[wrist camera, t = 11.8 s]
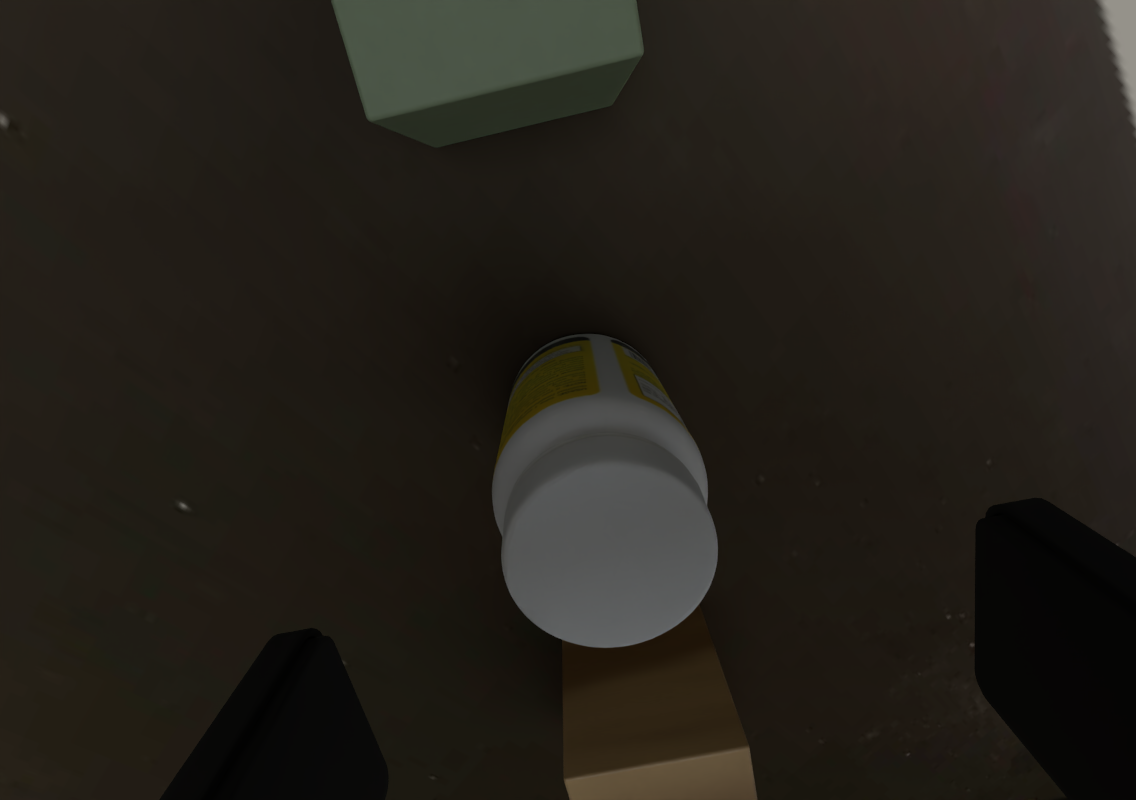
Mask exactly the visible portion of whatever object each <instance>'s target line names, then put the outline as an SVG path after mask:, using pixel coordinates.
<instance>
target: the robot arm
mask: <svg viewBox="0 0 1136 800" xmlns="http://www.w3.org/2000/svg"><path fill="white" fill-rule="evenodd" d="M975 675H976V679H977V682H978V685H979V687H980V689H981V691H982V693H983V695H984V696H985V698H986V699H987V701H988V702H989V703H990V704H991V706H992V707H993V708H994V709H995V711H996V712H997V713H998V714H999V715H1000V717H1001V718H1002V719H1003V720H1004V721H1005V723H1006V724H1007V725H1008V726H1009V728H1010V729H1011V730H1012V731H1013V732H1014V734H1015V735H1016V736H1017V737H1018V738H1019V740H1020V741H1021V742H1022V743H1023V745H1024V746H1025V747H1026V748H1027V749H1028V751H1029V752H1030V753H1031V754H1032V755H1033V757H1034V758H1035V759H1036V760H1037V762H1038V763H1039V764H1040V765H1041V766H1042V768H1043V769H1044V770H1045V771H1046V772H1047V774H1048V775H1049V776H1050V777H1051V779H1052V780H1053V781H1054V782H1055V783H1056V785H1057V786H1058V787H1059V788H1060V789H1061V791H1062V792H1063V793H1064V794H1065V796H1066V797H1067V798H1068V799H1069V800H1136V557H1134V556H1133V555H1131V554H1130V553H1128V552H1126V551H1125V550H1123V549H1122V548H1120V547H1119V546H1117V545H1116V544H1114V543H1112V542H1111V541H1109V540H1108V539H1106V538H1105V537H1103V536H1101V535H1100V534H1098V533H1097V532H1095V531H1094V530H1092V529H1091V528H1089V527H1087V526H1086V525H1084V524H1083V523H1081V522H1080V521H1078V520H1076V519H1075V518H1073V517H1072V516H1070V515H1069V514H1067V513H1065V512H1064V511H1062V510H1061V509H1059V508H1058V507H1056V506H1055V505H1053V504H1051V503H1050V502H1048V501H1046V500H1044V499H1042V498H1031V499H1026V500H1020V501H1015V502H1009V503H1004V504H998V505H993V506H992V507H990V508H989V509H988V511H987V512H986V518H982V519H980V520H979V521H978V522H977V524H976V556H975ZM387 789H388V769H387V765H386V762H385V760H384V758H383V755H382V753H381V751H380V748H379V746H378V744H377V741H376V739H375V737H374V734H373V732H372V730H371V727H370V725H369V723H368V720H367V718H366V716H365V713H364V711H363V709H362V706H361V704H360V702H359V699H358V697H357V695H356V692H355V690H354V688H353V685H352V683H351V681H350V678H349V676H348V674H347V671H346V669H345V667H344V664H343V662H342V660H341V657H340V655H339V653H338V650H337V648H336V646H335V643H334V642H333V640H332V639H331V638H330V637H329V636H323V635H322V634H321V632H320V631H318V630H317V629H314V628H310V629H304V630H299V631H293V632H288V633H282V634H277V635H275V636H273V637H272V638H271V639H270V640H269V641H268V642H267V644H266V645H265V647H264V648H263V650H262V651H261V653H260V654H259V656H258V657H257V658H256V660H255V661H254V663H253V664H252V666H251V667H250V669H249V670H248V672H247V673H246V674H245V676H244V677H243V679H242V680H241V682H240V683H239V685H238V686H237V688H236V689H235V690H234V692H233V693H232V695H231V696H230V698H229V699H228V701H227V702H226V704H225V705H224V706H223V708H222V709H221V711H220V712H219V714H218V715H217V717H216V718H215V720H214V721H213V722H212V724H211V725H210V727H209V728H208V730H207V731H206V733H205V734H204V736H203V737H202V738H201V740H200V741H199V743H198V744H197V746H196V747H195V749H194V750H193V752H192V753H191V754H190V756H189V757H188V759H187V760H186V762H185V763H184V765H183V766H182V768H181V769H180V770H179V772H178V773H177V775H176V776H175V778H174V779H173V781H172V782H171V784H170V785H169V786H168V788H167V789H166V791H165V792H164V794H163V795H162V797H161V798H160V800H385V797H386V794H387Z"/></svg>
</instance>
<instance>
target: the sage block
mask: <svg viewBox="0 0 1136 800" xmlns="http://www.w3.org/2000/svg"><path fill="white" fill-rule="evenodd" d="M331 2H332V5H333V9H334V12H335V15H336V19H337V22H338V25H339V29H340V32H341V35H342V39H343V42H344V45H345V48H346V52H347V55H348V58H349V62H350V65H351V68H352V72H353V75H354V78H355V82H356V85H357V88H358V91H359V95H360V98H361V101H362V105H363V108H364V111H365V115H366V118H367V119H368V120H369V121H370V122H372V123H375V124H377V125H380V126H382V127H385V128H387V129H390V130H392V131H395V132H397V133H400V134H402V135H405V136H407V137H410V138H412V139H415V140H417V141H420V142H422V143H425V144H427V145H430V146H432V147H435V148H438V147H442V146H446V145H450V144H454V143H458V142H463V141H467V140H471V139H475V138H479V137H483V136H488V135H492V134H496V133H500V132H504V131H508V130H513V129H517V128H521V127H525V126H529V125H533V124H538V123H542V122H546V121H550V120H554V119H558V118H563V117H567V116H571V115H575V114H579V113H584V112H588V111H592V110H596V109H600V108H604V107H609V106H611V105H613V103H614V102H615V100H616V98H617V97H618V95H619V93H620V92H621V90H622V88H623V87H624V85H625V83H626V82H627V80H628V79H629V77H630V75H631V74H632V72H633V70H634V69H635V67H636V65H637V64H638V62H639V60H640V59H641V57H642V56H643V53H644V46H643V40H642V33H641V27H640V21H639V14H638V8H637V1H636V0H331Z"/></svg>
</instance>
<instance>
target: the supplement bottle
mask: <svg viewBox="0 0 1136 800" xmlns="http://www.w3.org/2000/svg"><path fill="white" fill-rule="evenodd" d="M707 499H708V483H707V475H706V470H705V466H704V463H703V459H702V456H701V454H700V451H699V449H698V447H697V445H696V443H695V441H694V439H693V438H692V436H691V434H690V433H689V431H688V429H687V428H686V426H685V424H684V423H683V421H682V419H681V417H680V416H679V414H678V412H677V410H676V409H675V407H674V405H673V403H672V401H671V400H670V398H669V396H668V394H667V393H666V391H665V389H664V388H663V386H662V384H661V383H660V381H659V379H658V377H657V375H656V374H655V372H654V370H653V369H652V367H651V366H650V365H649V363H648V362H647V361H646V359H645V358H644V357H643V356H642V355H641V354H640V353H638V352H637V351H636V350H635V349H634V348H632V347H631V346H629V345H628V344H626V343H624V342H622V341H620V340H617V339H615V338H612V337H608V336H604V335H599V334H577V335H571V336H566V337H563V338H559V339H557V340H554V341H552V342H550V343H548V344H546V345H545V346H543V347H542V348H540V349H539V350H538V351H536V352H535V353H534V354H533V355H532V356H531V357H530V358H529V359H528V360H527V361H526V362H525V364H524V365H523V366H522V368H521V370H520V371H519V373H518V375H517V377H516V379H515V381H514V384H513V387H512V390H511V394H510V397H509V403H508V408H507V413H506V417H505V422H504V427H503V432H502V436H501V441H500V446H499V451H498V455H497V460H496V465H495V470H494V476H493V484H492V501H493V509H494V515H495V519H496V522H497V525H498V528H499V530H500V532H501V535H502V549H501V560H502V570H503V574H504V578H505V582H506V585H507V587H508V590H509V592H510V594H511V596H512V598H513V599H514V601H515V603H516V604H517V606H518V607H519V608H520V609H521V611H522V612H523V613H524V614H525V616H527V617H528V618H529V619H530V620H531V621H532V622H533V623H534V624H535V625H537V626H538V627H540V628H541V629H543V630H544V631H546V632H547V633H549V634H551V635H553V636H555V637H557V638H559V639H562V640H565V641H567V642H571V643H574V644H579V645H583V646H589V647H600V648H613V647H623V646H629V645H634V644H638V643H641V642H644V641H647V640H650V639H653V638H655V637H657V636H659V635H661V634H663V633H665V632H667V631H669V630H670V629H672V628H673V627H675V626H677V625H678V624H679V623H680V622H682V621H683V620H684V619H685V618H687V617H688V616H689V615H690V614H691V613H692V612H693V611H694V609H695V608H696V607H697V606H698V605H699V603H700V602H701V601H702V599H703V598H704V596H705V594H706V592H707V591H708V589H709V587H710V585H711V582H712V579H713V577H714V574H715V569H716V565H717V557H718V542H717V535H716V530H715V526H714V523H713V520H712V517H711V514H710V512H709V510H708V507H707Z"/></svg>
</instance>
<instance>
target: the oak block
mask: <svg viewBox="0 0 1136 800" xmlns="http://www.w3.org/2000/svg"><path fill="white" fill-rule="evenodd" d="M562 676H563V762H564V782H565V786H566V789H567V792H568V795H569V799H570V800H757V794H756V787H755V781H754V774H753V768H752V762H751V755H750V749H749V745H748V742H747V739H746V736H745V733H744V730H743V728H742V725H741V722H740V719H739V716H738V713H737V710H736V708H735V705H734V702H733V699H732V696H731V693H730V690H729V688H728V685H727V682H726V679H725V676H724V673H723V670H722V668H721V665H720V662H719V659H718V656H717V653H716V650H715V647H714V645H713V642H712V639H711V636H710V633H709V630H708V627H707V625H706V622H705V619H704V616H703V613H702V610H701V607H700V605H698V606H697V607H696V608H695V609H694V611H693V612H692V613H691V614H690V615H689V616H688V617H687V618H685V619H684V620H683V621H682V622H680V623H679V624H678V625H677V626H675V627H673V628H672V629H670V630H669V631H667V632H665V633H663V634H661V635H659V636H657V637H655V638H653V639H650V640H647V641H644V642H641V643H638V644H634V645H629V646H623V647H613V648H600V647H589V646H583V645H579V644H574V643H571V642H567V641H565V640H562Z"/></svg>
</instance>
